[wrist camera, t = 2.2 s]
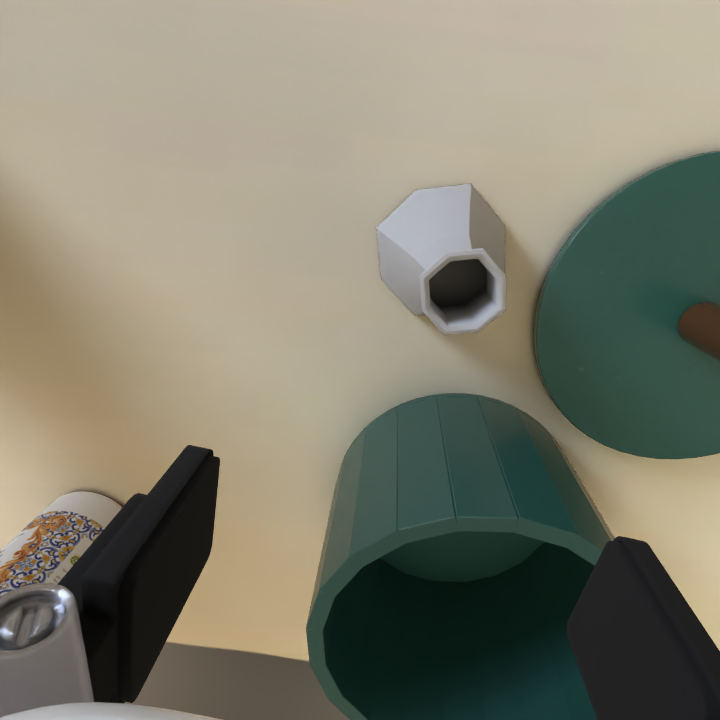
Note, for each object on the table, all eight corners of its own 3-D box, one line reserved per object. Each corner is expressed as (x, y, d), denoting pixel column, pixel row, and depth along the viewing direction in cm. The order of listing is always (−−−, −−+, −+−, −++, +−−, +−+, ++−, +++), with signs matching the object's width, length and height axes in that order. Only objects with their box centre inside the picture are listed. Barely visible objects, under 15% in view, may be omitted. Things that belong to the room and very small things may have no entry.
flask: (524, 285, 27) (591, 343, 17) (406, 333, 28) (409, 410, 19) (480, 158, 25) (530, 148, 15) (354, 218, 26) (330, 242, 17)
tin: (303, 431, 31) (253, 563, 21) (541, 362, 28) (628, 475, 18) (380, 602, 36) (372, 780, 26) (590, 559, 33) (681, 740, 23)
